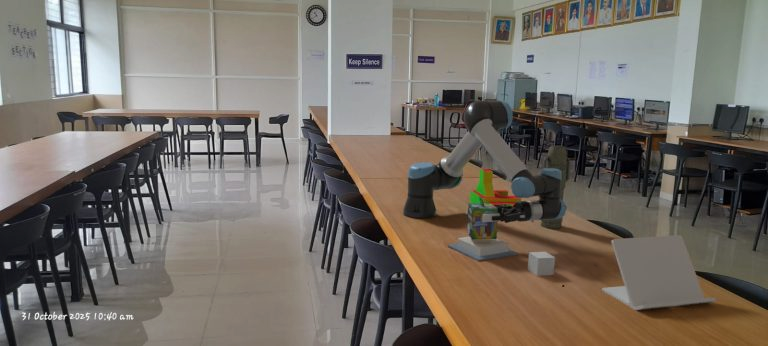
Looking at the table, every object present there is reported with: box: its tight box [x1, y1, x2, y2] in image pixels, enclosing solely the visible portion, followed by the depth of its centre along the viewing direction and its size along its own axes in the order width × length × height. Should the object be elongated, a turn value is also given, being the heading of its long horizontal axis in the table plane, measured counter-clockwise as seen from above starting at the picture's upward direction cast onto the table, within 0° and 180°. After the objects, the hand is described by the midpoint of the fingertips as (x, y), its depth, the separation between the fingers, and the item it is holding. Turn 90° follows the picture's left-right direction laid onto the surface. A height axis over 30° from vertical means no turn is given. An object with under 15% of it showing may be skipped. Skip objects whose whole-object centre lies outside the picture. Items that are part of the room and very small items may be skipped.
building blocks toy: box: [469, 168, 522, 207], centre depth 266 cm, size 19×25×18 cm
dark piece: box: [540, 144, 572, 230], centre depth 234 cm, size 9×12×35 cm
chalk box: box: [466, 196, 498, 239], centre depth 198 cm, size 9×9×15 cm
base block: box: [456, 236, 509, 256], centre depth 200 cm, size 13×13×3 cm
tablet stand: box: [601, 234, 717, 311], centre depth 159 cm, size 18×25×17 cm
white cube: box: [527, 251, 556, 277], centre depth 179 cm, size 6×6×6 cm
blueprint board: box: [447, 243, 519, 262], centre depth 200 cm, size 18×18×1 cm
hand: (474, 214), depth 197 cm, fingers closed on chalk box, 11 cm apart
